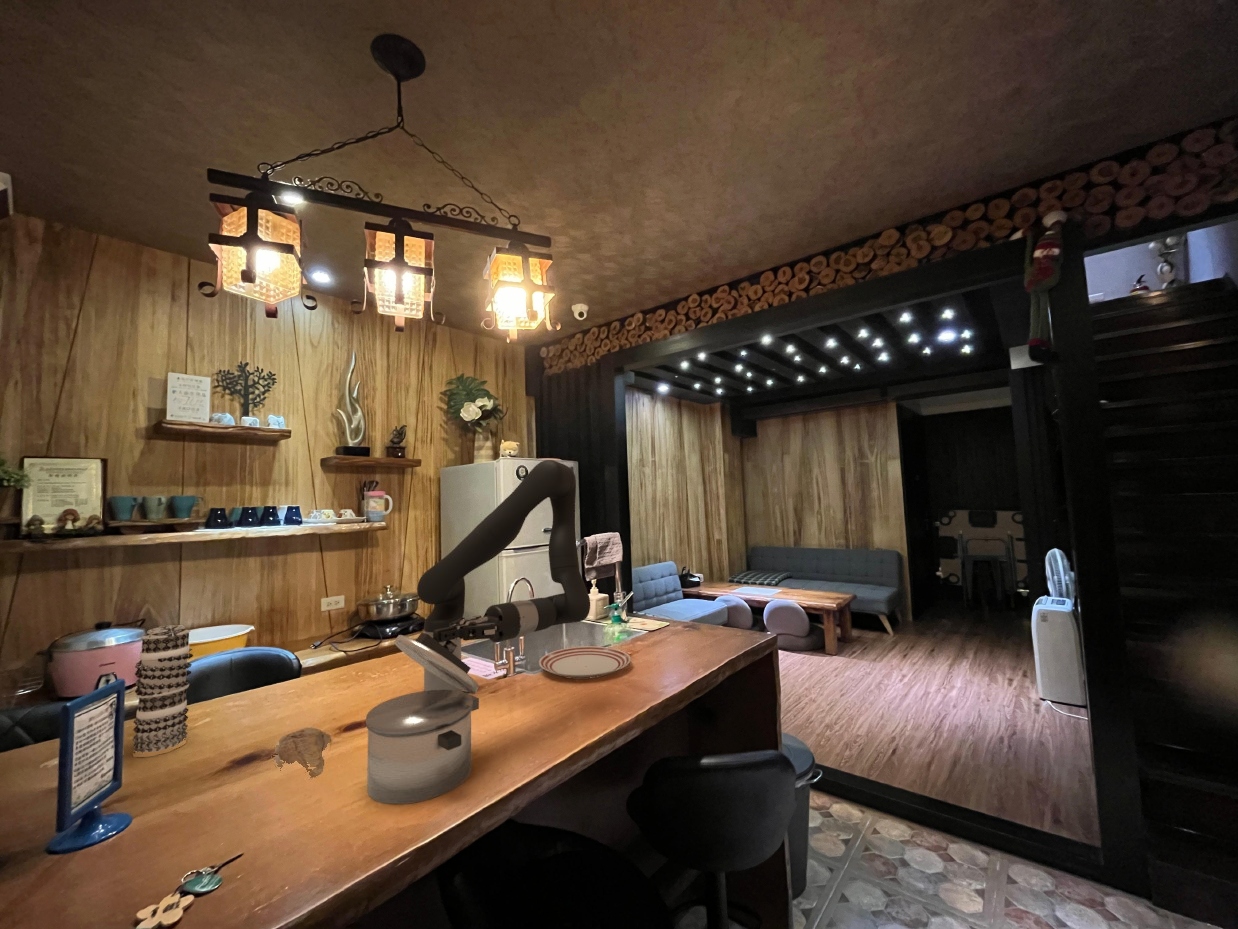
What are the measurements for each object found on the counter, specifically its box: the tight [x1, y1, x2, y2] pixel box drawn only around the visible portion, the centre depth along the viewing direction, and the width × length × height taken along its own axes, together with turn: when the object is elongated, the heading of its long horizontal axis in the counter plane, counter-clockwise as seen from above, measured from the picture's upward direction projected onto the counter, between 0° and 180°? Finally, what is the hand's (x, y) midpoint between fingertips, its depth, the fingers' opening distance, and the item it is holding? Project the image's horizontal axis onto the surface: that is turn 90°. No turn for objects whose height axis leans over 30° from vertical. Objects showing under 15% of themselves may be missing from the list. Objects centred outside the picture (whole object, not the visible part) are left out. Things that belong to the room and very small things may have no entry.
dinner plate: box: [538, 645, 632, 679], centre depth 150 cm, size 27×27×3 cm
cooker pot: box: [365, 690, 480, 805], centre depth 91 cm, size 22×19×12 cm
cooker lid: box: [393, 632, 480, 695], centre depth 95 cm, size 18×18×5 cm
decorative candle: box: [131, 624, 194, 753], centre depth 107 cm, size 9×9×25 cm
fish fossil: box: [273, 726, 331, 779], centre depth 100 cm, size 26×10×1 cm, turn 40°
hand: (435, 636), depth 94 cm, fingers closed
